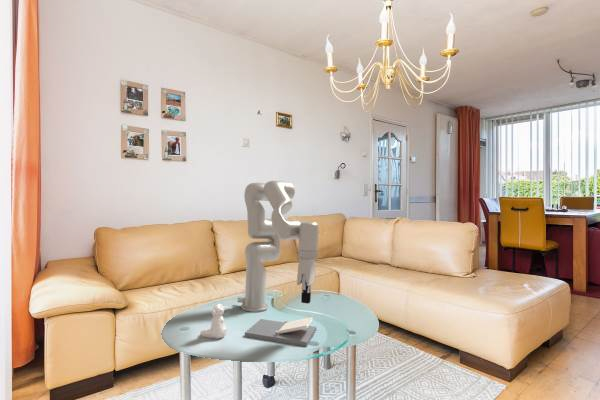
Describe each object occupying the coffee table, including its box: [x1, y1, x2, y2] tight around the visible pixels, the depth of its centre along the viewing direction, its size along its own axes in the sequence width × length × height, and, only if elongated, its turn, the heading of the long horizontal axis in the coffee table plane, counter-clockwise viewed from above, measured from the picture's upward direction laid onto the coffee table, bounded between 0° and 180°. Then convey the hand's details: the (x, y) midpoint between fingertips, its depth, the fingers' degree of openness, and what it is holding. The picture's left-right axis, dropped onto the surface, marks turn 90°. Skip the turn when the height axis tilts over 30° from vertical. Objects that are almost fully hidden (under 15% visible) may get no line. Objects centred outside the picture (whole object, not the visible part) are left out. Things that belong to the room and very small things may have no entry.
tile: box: [279, 316, 314, 334], centre depth 126 cm, size 11×10×1 cm
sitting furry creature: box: [199, 303, 228, 340], centre depth 123 cm, size 10×9×12 cm
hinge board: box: [244, 318, 317, 347], centre depth 128 cm, size 24×16×3 cm, turn 75°
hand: (305, 302), depth 125 cm, fingers closed
